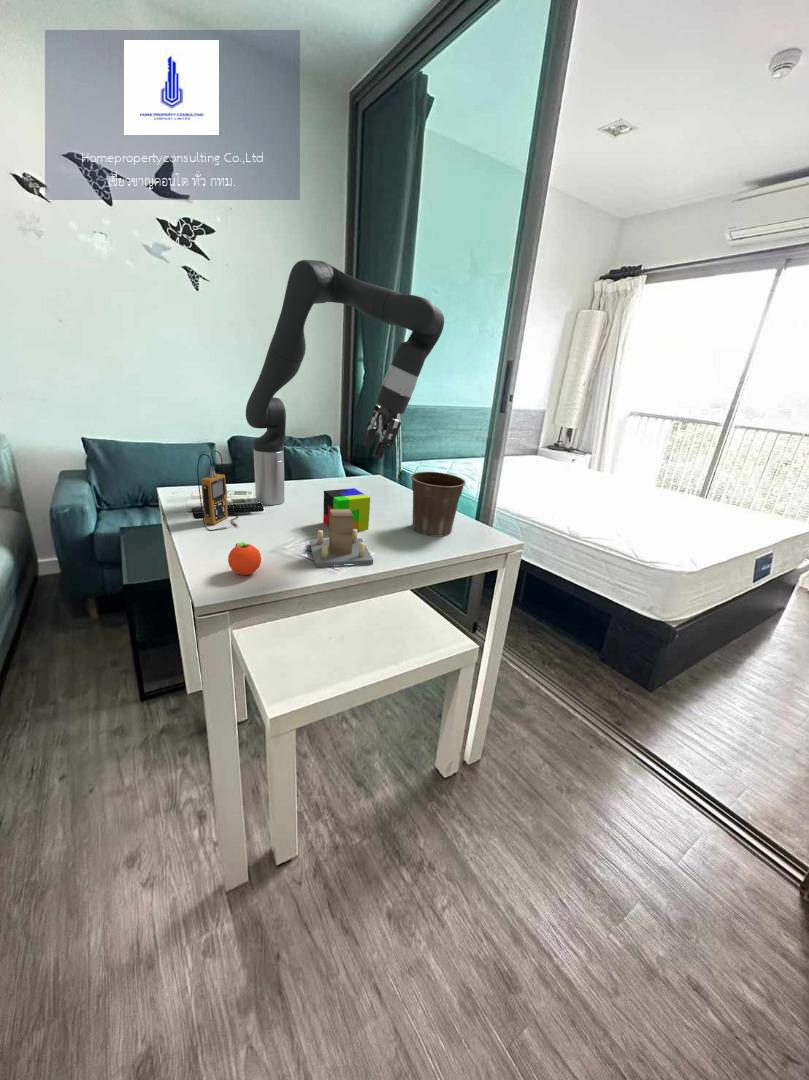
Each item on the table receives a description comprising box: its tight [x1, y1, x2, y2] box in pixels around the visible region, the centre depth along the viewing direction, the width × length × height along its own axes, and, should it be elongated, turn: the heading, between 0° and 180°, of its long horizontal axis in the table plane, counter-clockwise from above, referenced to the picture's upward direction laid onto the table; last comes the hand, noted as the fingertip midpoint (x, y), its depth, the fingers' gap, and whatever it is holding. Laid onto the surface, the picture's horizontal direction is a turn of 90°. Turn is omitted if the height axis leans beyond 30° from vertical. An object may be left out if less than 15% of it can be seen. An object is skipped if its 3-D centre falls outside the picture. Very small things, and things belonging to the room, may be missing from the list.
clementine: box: [227, 542, 262, 576], centre depth 97 cm, size 8×7×7 cm
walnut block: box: [328, 509, 353, 554], centre depth 109 cm, size 5×5×10 cm
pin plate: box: [308, 529, 374, 568], centre depth 111 cm, size 14×14×5 cm
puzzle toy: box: [322, 487, 371, 532], centre depth 129 cm, size 10×10×10 cm
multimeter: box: [196, 450, 240, 531], centre depth 121 cm, size 15×10×20 cm
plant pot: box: [410, 471, 467, 536], centre depth 131 cm, size 16×16×16 cm
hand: (372, 451), depth 110 cm, fingers open, 8 cm apart
